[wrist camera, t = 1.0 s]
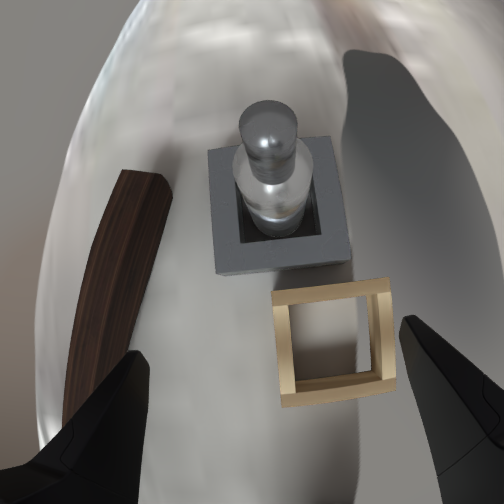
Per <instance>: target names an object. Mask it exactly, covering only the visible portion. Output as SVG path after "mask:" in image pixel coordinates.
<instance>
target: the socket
mask: <svg viewBox="0 0 504 504" xmlns="http://www.w3.org/2000/svg"><path fill="white" fill-rule="evenodd" d="M299 139H300V140H301V141H302V142H303V143H304V144H305V145H306V146H307V147H308V149H309V151H310V153H311V155H312V159H313V173H312V178H311V183H310V195H311V202H312V208H313V215H314V222H315V230H316V235H314V236H305V237H296V238H287V239H278V240H269V241H260V242H251V243H245V236H244V225H243V214H242V203H241V192H240V190H239V188H238V185H237V183H236V181H235V178H234V175H233V167H232V165H233V159H234V155H235V153H236V151H237V149H238V148H239V146H240V145H238V146H231V147H225V148H218V149H212V150H208V167H209V185H210V201H211V217H212V231H213V244H214V257H215V269H216V274H219V275H222V276H232V275H241V274H251V273H261V272H270V271H280V270H289V269H298V268H307V267H316V266H324V265H333V264H341V263H345V262H347V261H348V260H350V259H352V258H351V250H350V243H349V236H348V229H347V223H346V216H345V210H344V204H343V198H342V193H341V187H340V182H339V176H338V171H337V166H336V161H335V156H334V152H333V147H332V142H331V138H330V136H322V137H309V138H299Z"/></svg>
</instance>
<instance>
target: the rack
mask: <svg viewBox="0 0 504 504" xmlns="http://www.w3.org/2000/svg"><path fill="white" fill-rule="evenodd" d="M364 295H366V299H367V308H368V321H369V334H370V352H371V370H370V371H364V372H359V373H352V374H346V375H340V376H333V377H325V378H318V379H309V380H300V381H295V378H294V366H293V354H292V342H291V331H290V320H289V310H288V305H292V304H301V303H310V302H319V301H327V300H335V299H343V298H350V297H357V296H364ZM271 296H272V306H273V317H274V327H275V338H276V348H277V359H278V370H279V382H280V393H281V405H282V408H285V407H296V406H305V405H314V404H322V403H329V402H336V401H343V400H349V399H355V398H361V397H366V396H371V395H377V394H382V393H387V392H391V391H396V360H395V338H394V322H393V309H392V298H391V288H390V279H389V277H384V278H378V279H370V280H362V281H354V282H347V283H339V284H331V285H322V286H314V287H305V288H296V289H287V290H278V291H271Z"/></svg>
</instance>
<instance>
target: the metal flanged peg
mask: <svg viewBox="0 0 504 504" xmlns="http://www.w3.org/2000/svg"><path fill="white" fill-rule="evenodd" d="M239 130H240V133H241V137H242V140H243V143H242V144H241V145H240V146H239V148H238V149H237V151H236V153H235V155H234V159H233V165H232V167H233V175H234V178H235V181H236V183H237V185H238V188H239V190H240V192H241V194H242V197H243V199H244V201H245V203H246V206H247V208H248V210H249V212H250V215H251V217H252V219H253V222H254V224H255V225H256V227H257V228H258V229H259V230H260V231H261V232H263V233H264V234H266V235H268V236H272V237H283V236H287V235H289V234H291V233H293V232H294V231H295V230H296V229H297V228H298V227H299V226H300V224H301V222H302V219H303V215H304V211H305V206H306V202H307V197H308V192H309V188H310V183H311V178H312V173H313V159H312V155H311V153H310V151H309V149H308V147H307V146H306V145H305V144H304V143H303V142H302V141H301V140H300V139H299V138H298V137H297V118H296V116H295V114H294V112H293V111H292V110H291V109H290V108H289V107H288V106H287V105H285V104H283V103H281V102H278V101H272V100H265V101H260V102H257V103H254V104H252V105H251V106H249V107H248V108H247V109H246V110H245V111H244V112H243V113H242V115H241V117H240V120H239Z"/></svg>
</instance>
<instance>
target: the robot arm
mask: <svg viewBox="0 0 504 504" xmlns="http://www.w3.org/2000/svg"><path fill="white" fill-rule="evenodd" d="M399 339H400V343H401V347H402V352H403V356H404V360H405V365H406V369H407V374H408V378H409V381H410V384H411V387H412V390H413V393H414V396H415V399H416V402H417V406H418V408H419V412H420V415H421V419H422V422H423V425H424V428H425V432H426V435H427V439H428V443H429V446H430V450H431V454H432V458H433V462H434V466H435V470H436V474H437V476H438V477H437V479H438V483H439V488H440V492H441V497H442V502H443V504H504V390H503V389H502V388H500V387H499V386H498V385H497V384H496V383H495V382H493V381H492V380H491V379H490V378H489V377H488V376H487V375H485V374H484V373H483V372H482V371H481V370H480V369H479V368H477V367H476V366H475V365H474V364H473V363H472V362H471V361H469V360H468V359H467V358H466V357H465V356H464V355H462V354H461V353H460V352H459V351H458V350H457V349H455V348H454V347H453V346H452V345H451V344H450V343H448V342H447V341H446V340H445V339H444V338H442V337H441V336H440V335H439V334H438V333H436V332H435V331H434V330H433V329H432V328H430V327H429V326H428V325H427V324H425V323H424V322H423V321H422V320H421V319H419V318H418V317H417V316H415V315H409V316H405V317H403V319H402V322H401V327H400V331H399ZM149 376H150V367H149V364H148V362H147V361H146V359H145V358H144V356H143V355H142V353H141V352H140V351H139V350H131V351H128V352H127V353H126V354H125V355H124V356H123V357H122V359H121V360H120V361H119V362H118V363H117V364H116V366H115V367H114V368H113V369H112V370H111V371H110V372H109V374H108V375H107V376H106V377H105V378H104V379H103V381H102V382H101V383H100V384H99V385H98V386H97V388H96V389H95V390H94V391H93V392H92V394H91V395H90V396H89V397H88V398H87V399H86V401H85V402H84V403H83V404H82V405H81V407H80V408H79V409H78V410H77V411H76V413H75V414H74V415H73V416H72V418H70V420H69V421H68V422H67V423H66V424H65V426H64V427H63V428H62V429H61V430H60V431H59V432H58V434H57V435H56V436H55V437H54V438H53V439H52V440H51V441H50V442H49V443H48V444H47V445H46V446H45V447H44V448H43V449H42V450H41V451H40V452H39V453H38V454H37V455H36V456H35V457H34V458H33V459H32V460H30V461H29V462H27V463H26V464H23V465H20V466H16V467H12V468H8V469H3V470H0V504H138V498H139V485H140V474H141V463H142V454H143V445H144V436H145V428H146V420H147V413H148V403H149Z"/></svg>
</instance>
